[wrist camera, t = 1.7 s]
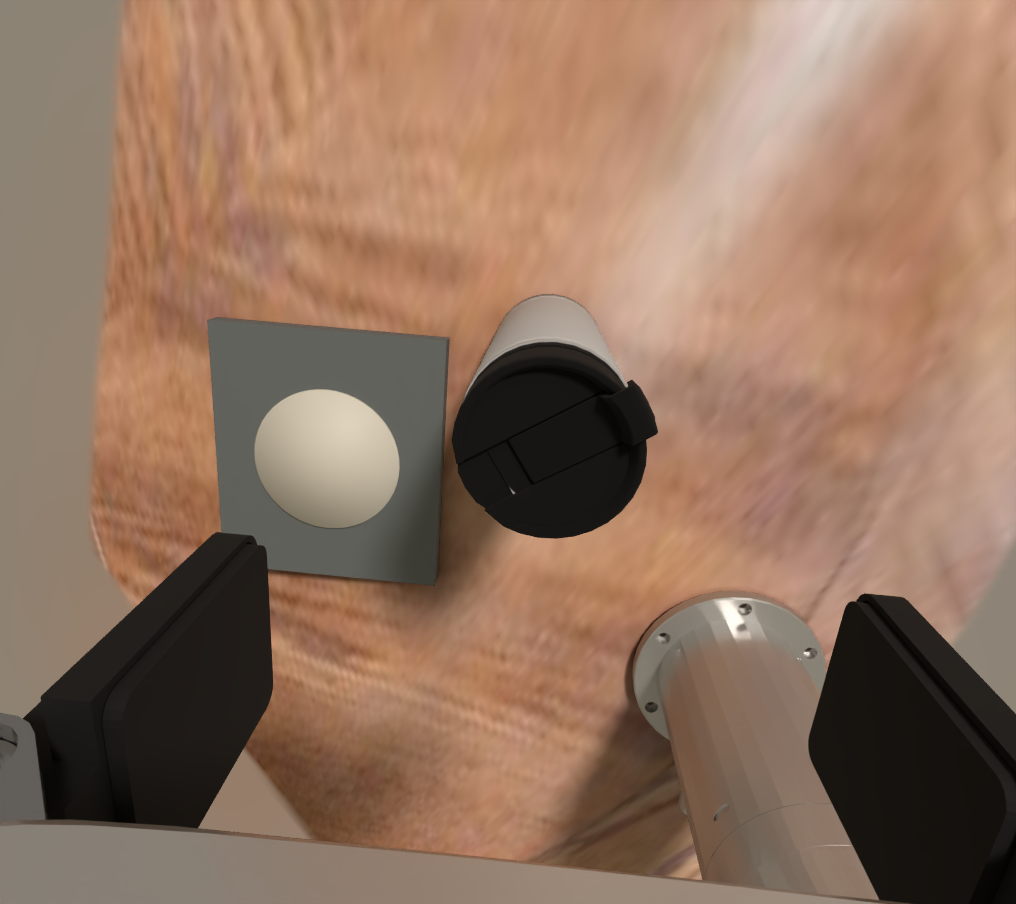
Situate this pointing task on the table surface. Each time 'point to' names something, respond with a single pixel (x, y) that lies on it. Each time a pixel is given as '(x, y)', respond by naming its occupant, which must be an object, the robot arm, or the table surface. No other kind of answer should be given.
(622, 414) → the travel mug
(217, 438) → the mat
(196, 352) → the table surface
